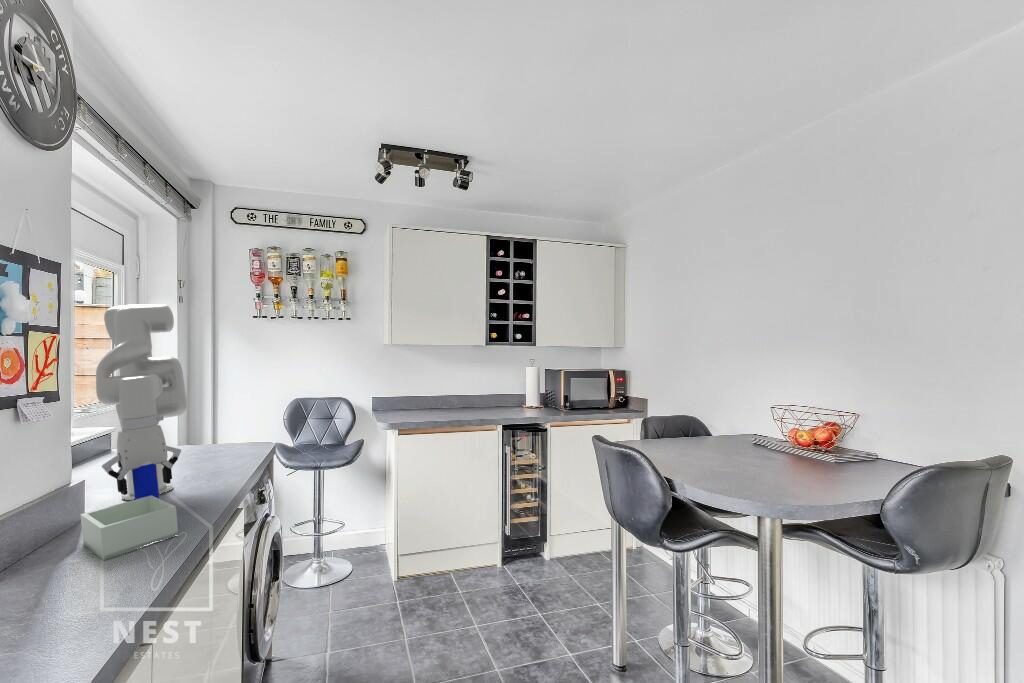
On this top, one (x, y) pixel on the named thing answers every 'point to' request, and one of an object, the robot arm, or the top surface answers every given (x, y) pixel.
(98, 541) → the crate
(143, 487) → the beverage can
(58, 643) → the top surface
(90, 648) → the top surface
